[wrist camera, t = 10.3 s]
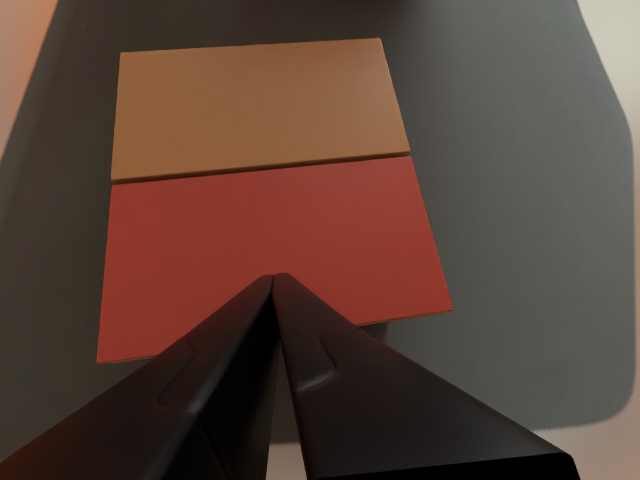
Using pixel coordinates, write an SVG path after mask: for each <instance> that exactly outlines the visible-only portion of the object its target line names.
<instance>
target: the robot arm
mask: <svg viewBox="0 0 640 480" xmlns="http://www.w3.org/2000/svg"><path fill="white" fill-rule="evenodd" d="M280 341H281V346H282V352H283V357H284V362H285V367H286V372H287V378H288V383H289V388H290V393H291V398H292V404H293V409H294V414H295V419H296V424H297V430H298V435H299V440H300V445H301V450H302V456H303V461H304V466H305V471H306V477H307V480H580V477H579V474H578V471H577V468H576V465H575V463H574V460H573V458H572V457H571V455H569V454H567V453H566V452H564V451H563V450H561V449H559V448H558V447H556V446H554V445H552V444H551V443H549V442H548V441H546V440H544V439H542V438H541V437H539V436H538V435H536V434H534V433H533V432H531V431H529V430H527V429H526V428H524V427H522V426H521V425H519V424H517V423H516V422H514V421H512V420H511V419H509V418H507V417H506V416H504V415H502V414H501V413H499V412H497V411H496V410H494V409H492V408H491V407H489V406H487V405H486V404H484V403H482V402H481V401H479V400H477V399H476V398H474V397H472V396H471V395H469V394H467V393H466V392H464V391H462V390H461V389H459V388H457V387H456V386H454V385H452V384H451V383H449V382H447V381H445V380H444V379H442V378H440V377H439V376H437V375H435V374H434V373H432V372H430V371H429V370H427V369H425V368H424V367H422V366H420V365H419V364H417V363H415V362H414V361H412V360H410V359H409V358H407V357H405V356H404V355H402V354H400V353H399V352H397V351H395V350H394V349H392V348H390V347H389V346H387V345H385V344H384V343H382V342H380V341H379V340H377V339H375V338H374V337H372V336H371V335H369V334H368V333H366V332H364V331H363V330H361V329H360V328H359V327H357V326H356V325H354V324H353V323H352V322H350V321H349V320H348V319H346V318H345V317H344V316H343V315H341V314H339V313H338V312H337V311H336V310H334V309H333V308H332V307H331V306H329V305H328V304H327V303H326V302H324V301H323V300H322V299H321V298H319V297H318V296H317V295H316V294H314V293H313V292H312V291H311V290H309V289H308V288H307V287H306V286H304V285H303V284H302V283H301V282H299V281H298V280H297V279H296V278H294V277H293V276H292V275H291V274H289V273H287V272H286V273H278V274H275V276H274V275H273V274H270V275H263V276H260V277H259V278H258V279H256V280H255V281H254V282H252V283H251V284H250V285H249V286H247V287H246V288H245V289H243V290H242V291H241V292H240V293H238V294H237V295H236V296H234V297H233V298H232V299H231V300H229V301H228V302H227V303H225V304H224V305H223V306H221V307H220V308H219V309H218V310H216V311H215V312H214V313H212V314H211V315H210V316H209V317H207V318H206V319H205V320H203V321H202V322H201V323H200V324H198V325H197V326H196V327H194V328H193V329H192V330H191V331H189V332H188V333H187V334H186V335H185V337H184V336H182V337H181V338H179V339H178V340H177V341H176V342H174V343H173V344H172V345H170V346H169V347H168V348H166V349H165V350H164V351H162V352H161V353H160V354H158V355H157V356H156V357H154V358H153V359H152V360H150V361H149V362H148V363H146V364H145V365H143V366H142V367H140V368H139V369H137V370H136V371H135V372H133V373H132V374H130V375H129V376H127V377H126V378H124V379H123V380H122V381H120V382H119V383H117V384H116V385H114V386H113V387H111V388H110V389H108V390H107V391H105V392H104V393H102V394H101V395H99V396H98V397H96V398H95V399H93V400H92V401H91V402H89V403H88V404H86V405H85V406H83V407H82V408H80V409H79V410H77V411H76V412H74V413H73V414H71V415H70V416H68V417H67V418H65V419H64V420H62V421H61V422H59V423H58V424H57V425H55V426H54V427H52V428H51V429H49V430H48V431H46V432H45V433H43V434H42V435H40V436H39V437H37V438H36V439H34V440H33V441H31V442H30V443H28V444H27V445H26V446H24V447H23V448H21V449H20V450H18V451H17V452H15V453H14V454H12V455H11V456H9V457H8V458H6V459H5V460H3V461H2V462H0V480H265V479H266V471H267V462H268V453H269V444H270V435H271V425H272V416H273V407H274V398H275V389H276V380H277V370H278V361H279V352H280Z"/></svg>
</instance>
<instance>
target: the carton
mask: <svg viewBox="0 0 640 480" xmlns="http://www.w3.org/2000/svg"><path fill="white" fill-rule="evenodd" d="M409 153H410V147H409V143H408V139H407V136H406V132H405V128H404V125H403V121H402V117H401V113H400V110H399V106H398V102H397V98H396V95H395V91H394V87H393V84H392V80H391V76H390V72H389V69H388V65H387V61H386V58H385V54H384V50H383V46H382V43H381V39H380V38H369V39H351V40H334V41H316V42H298V43H281V44H263V45H246V46H228V47H211V48H193V49H175V50H158V51H140V52H123V53H120V65H119V78H118V91H117V104H116V117H115V130H114V143H113V155H112V168H111V180H112V181H113V182H114V183H116V184H129V183H140V182H150V181H160V180H170V179H181V178H191V177H201V176H212V175H222V174H232V173H242V172H253V171H263V170H273V169H284V168H294V167H304V166H314V165H325V164H335V163H345V162H356V161H366V160H376V159H386V158H397V157H405V156H408V155H409ZM443 313H444V312H440V313H433V314H427V315H420V316H413V317H407V318H400V319H394V320H387V321H380V322H374V323H367V324H360V325H356V326H364V325H370V324H377V323H383V322H390V321H397V320H403V319H410V318H416V317H423V316H430V315H436V314H443ZM156 356H157V355H155V356H149V357H142V358H136V359H129V360H122V361H116V362H112V363H120V362H125V361H133V360H139V359H146V358H153V357H156Z"/></svg>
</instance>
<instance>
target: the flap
mask: <svg viewBox="0 0 640 480" xmlns="http://www.w3.org/2000/svg"><path fill="white" fill-rule="evenodd" d="M286 272H287V273H289V274H291V275H292V276H293V277H294V278H296V279H297V280H298V281H299V282H301V283H302V284H303V285H304V286H306V287H307V288H308V289H309V290H311V291H312V292H313V293H314V294H316V295H317V296H318V297H319V298H321V299H322V300H323V301H324V302H326V303H327V304H328V305H329V306H331V307H332V308H333V309H334V310H336V311H337V312H338V313H339V314H341V315H343V316H344V317H345V318H346V319H348V320H349V321H350V322H352V323H353V324H354V325H360V324H367V323H374V322H380V321H387V320H394V319H400V318H407V317H413V316H420V315H427V314H433V313H440V312H446V311H452V310H453V307H452V303H451V300H450V296H449V293H448V289H447V285H446V282H445V278H444V274H443V271H442V267H441V264H440V260H439V256H438V253H437V249H436V246H435V242H434V238H433V235H432V231H431V227H430V224H429V220H428V217H427V213H426V209H425V206H424V202H423V198H422V195H421V191H420V188H419V184H418V180H417V177H416V173H415V169H414V166H413V162H412V159H411V156H407V157H397V158H386V159H376V160H366V161H356V162H345V163H335V164H325V165H314V166H304V167H294V168H284V169H273V170H263V171H253V172H242V173H232V174H222V175H212V176H201V177H191V178H181V179H170V180H160V181H150V182H140V183H129V184H119V185H112V190H111V202H110V213H109V225H108V236H107V247H106V259H105V270H104V282H103V293H102V305H101V316H100V328H99V339H98V350H97V362H96V363H97V364H102V363H109V362H116V361H122V360H129V359H136V358H142V357H149V356H155V355H158V354H160V353H161V352H162V351H164V350H165V349H166V348H168V347H169V346H170V345H172V344H173V343H174V342H176V341H177V340H178V339H179V338H181V337H182V336H184V337H185V335H186V334H187V333H188V332H189V331H191V330H192V329H193V328H194V327H196V326H197V325H198V324H200V323H201V322H202V321H203V320H205V319H206V318H207V317H209V316H210V315H211V314H212V313H214V312H215V311H216V310H218V309H219V308H220V307H221V306H223V305H224V304H225V303H227V302H228V301H229V300H231V299H232V298H233V297H234V296H236V295H237V294H238V293H240V292H241V291H242V290H243V289H245V288H246V287H247V286H249V285H250V284H251V283H252V282H254V281H255V280H256V279H258V278H259V277H260V276H263V275H270V274H273V275H274V276H275V274H278V273H286Z"/></svg>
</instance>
